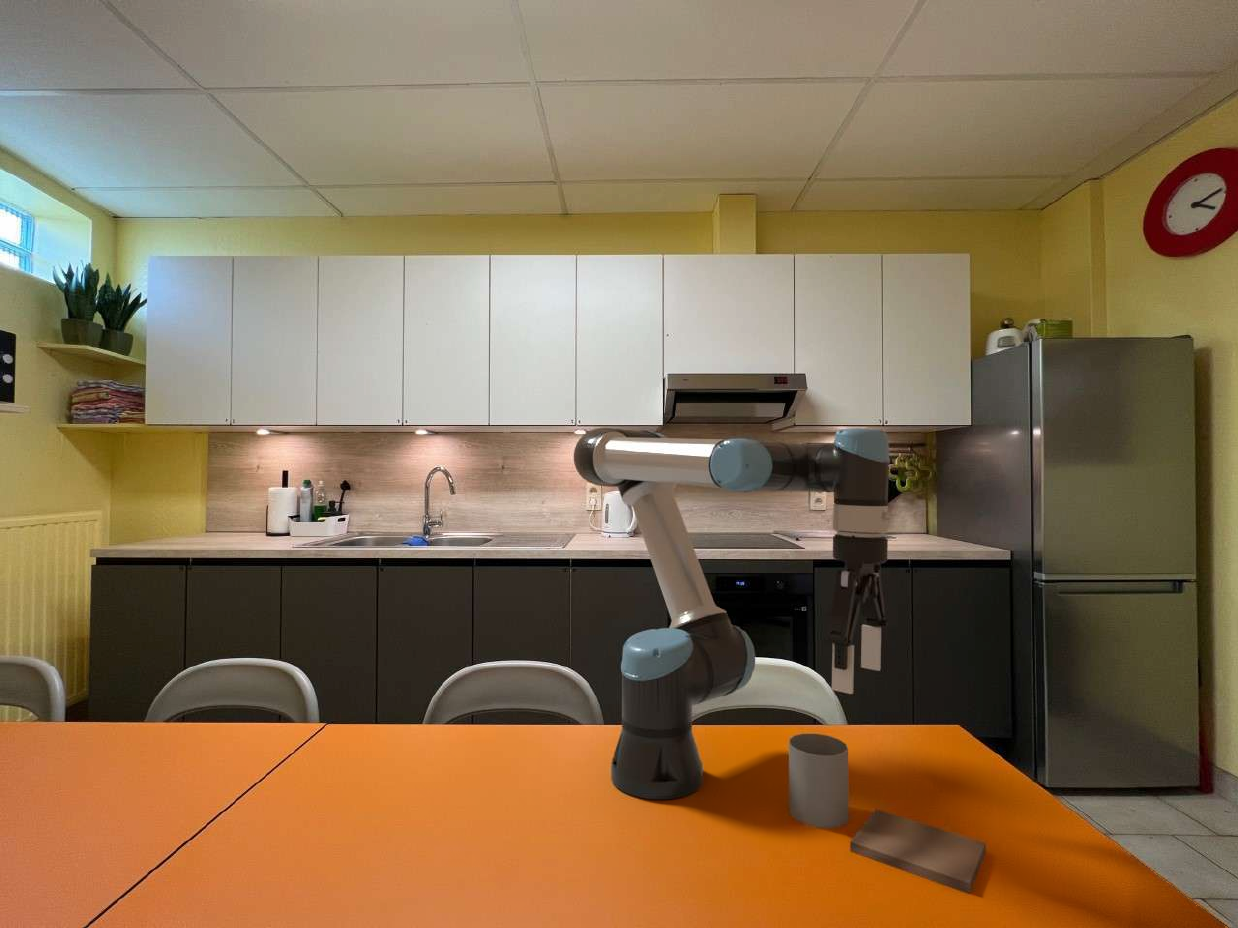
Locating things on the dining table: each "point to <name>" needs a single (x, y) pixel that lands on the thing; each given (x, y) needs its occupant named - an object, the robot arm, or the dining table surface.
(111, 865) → the dining table surface
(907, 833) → the walnut board
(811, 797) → the cup
